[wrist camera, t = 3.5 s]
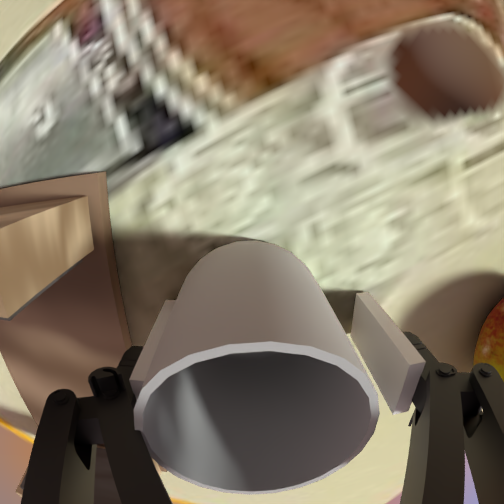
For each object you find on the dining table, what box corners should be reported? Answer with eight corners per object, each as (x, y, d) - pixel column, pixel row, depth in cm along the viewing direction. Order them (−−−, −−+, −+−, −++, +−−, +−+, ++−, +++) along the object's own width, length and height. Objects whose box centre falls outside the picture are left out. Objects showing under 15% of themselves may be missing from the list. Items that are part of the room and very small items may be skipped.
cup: (228, 208, 15) (211, 283, 6) (378, 308, 17) (460, 415, 8) (157, 320, 17) (104, 446, 8) (302, 393, 18) (330, 513, 10)
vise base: (-30, 195, 14) (-119, 226, 6) (105, 171, 14) (-2, 195, 6) (56, 442, 20) (27, 506, 13) (168, 462, 21) (154, 543, 13)
